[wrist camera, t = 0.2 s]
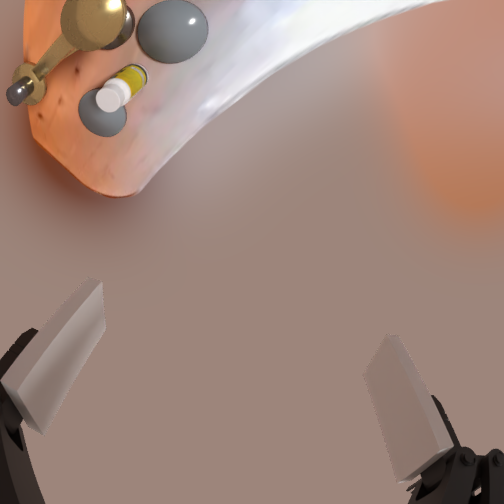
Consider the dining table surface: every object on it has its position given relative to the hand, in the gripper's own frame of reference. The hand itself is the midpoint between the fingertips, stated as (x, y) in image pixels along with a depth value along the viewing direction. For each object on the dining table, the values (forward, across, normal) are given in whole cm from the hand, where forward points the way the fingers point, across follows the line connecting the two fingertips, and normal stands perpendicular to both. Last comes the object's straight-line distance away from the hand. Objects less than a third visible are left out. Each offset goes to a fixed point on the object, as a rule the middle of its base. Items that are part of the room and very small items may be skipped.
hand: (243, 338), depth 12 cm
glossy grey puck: (+28, -16, +21) cm, 39 cm away
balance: (+28, -25, +22) cm, 44 cm away
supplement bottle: (+33, -21, +15) cm, 42 cm away
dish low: (+37, -29, +8) cm, 48 cm away
